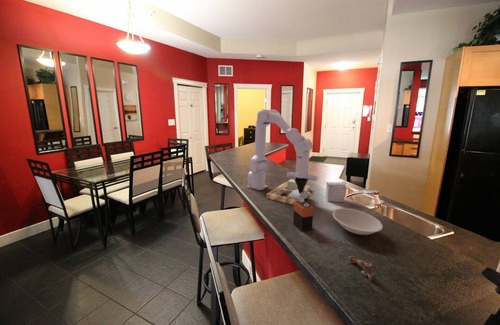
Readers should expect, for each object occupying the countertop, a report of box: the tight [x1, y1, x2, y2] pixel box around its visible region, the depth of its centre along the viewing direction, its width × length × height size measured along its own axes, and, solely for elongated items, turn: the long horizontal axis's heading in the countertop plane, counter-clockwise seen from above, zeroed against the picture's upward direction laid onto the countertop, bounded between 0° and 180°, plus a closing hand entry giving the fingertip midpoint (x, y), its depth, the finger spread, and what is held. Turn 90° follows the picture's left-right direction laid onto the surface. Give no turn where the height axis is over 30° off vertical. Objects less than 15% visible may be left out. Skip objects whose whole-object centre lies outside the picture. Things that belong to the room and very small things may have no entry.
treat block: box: [287, 178, 298, 191], centre depth 120 cm, size 4×4×6 cm
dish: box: [332, 208, 384, 236], centre depth 79 cm, size 18×14×5 cm
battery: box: [292, 199, 314, 232], centre depth 82 cm, size 4×7×10 cm, turn 20°
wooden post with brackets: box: [347, 255, 373, 281], centre depth 60 cm, size 2×8×4 cm, turn 12°
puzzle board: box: [266, 181, 312, 206], centre depth 115 cm, size 18×24×2 cm
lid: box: [287, 189, 311, 201], centre depth 107 cm, size 8×10×3 cm
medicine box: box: [325, 181, 347, 203], centre depth 107 cm, size 8×4×9 cm, turn 84°
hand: (300, 193), depth 106 cm, fingers closed
